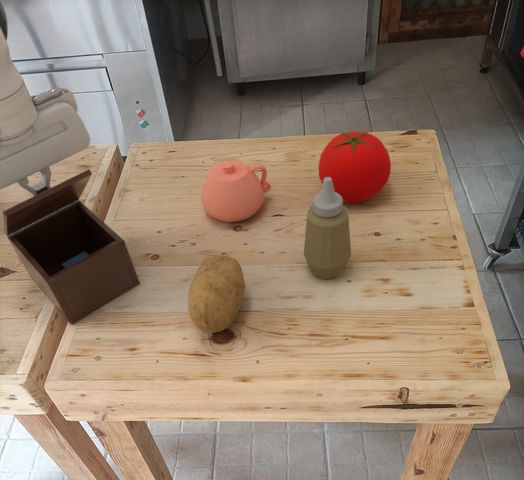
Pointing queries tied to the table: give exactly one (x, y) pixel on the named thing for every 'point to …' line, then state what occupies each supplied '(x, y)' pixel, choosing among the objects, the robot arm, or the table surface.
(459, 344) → the table surface
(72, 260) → the block
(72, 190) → the lid
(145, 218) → the table surface
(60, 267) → the chest
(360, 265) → the table surface
